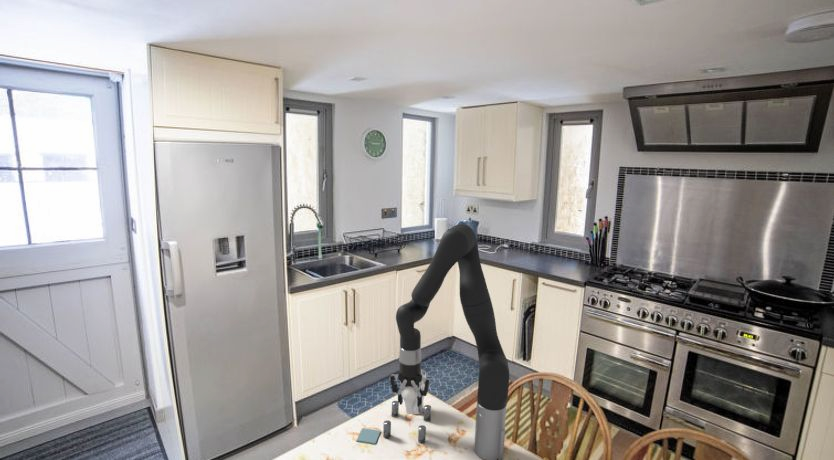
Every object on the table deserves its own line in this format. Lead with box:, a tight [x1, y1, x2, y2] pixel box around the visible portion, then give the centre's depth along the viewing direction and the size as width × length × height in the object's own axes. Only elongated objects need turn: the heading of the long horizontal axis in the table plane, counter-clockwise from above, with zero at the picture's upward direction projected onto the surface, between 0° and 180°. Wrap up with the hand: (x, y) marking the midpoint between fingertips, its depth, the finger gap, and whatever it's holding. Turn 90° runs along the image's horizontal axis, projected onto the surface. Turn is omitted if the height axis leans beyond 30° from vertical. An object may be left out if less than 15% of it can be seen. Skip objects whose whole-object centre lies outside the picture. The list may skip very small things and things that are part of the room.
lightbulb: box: [401, 386, 418, 415], centre depth 141 cm, size 6×6×11 cm
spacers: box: [382, 400, 432, 445], centre depth 142 cm, size 14×14×5 cm
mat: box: [356, 427, 381, 445], centre depth 137 cm, size 6×6×1 cm
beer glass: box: [412, 368, 427, 415], centre depth 152 cm, size 7×7×15 cm
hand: (409, 404), depth 141 cm, fingers closed on lightbulb, 5 cm apart
